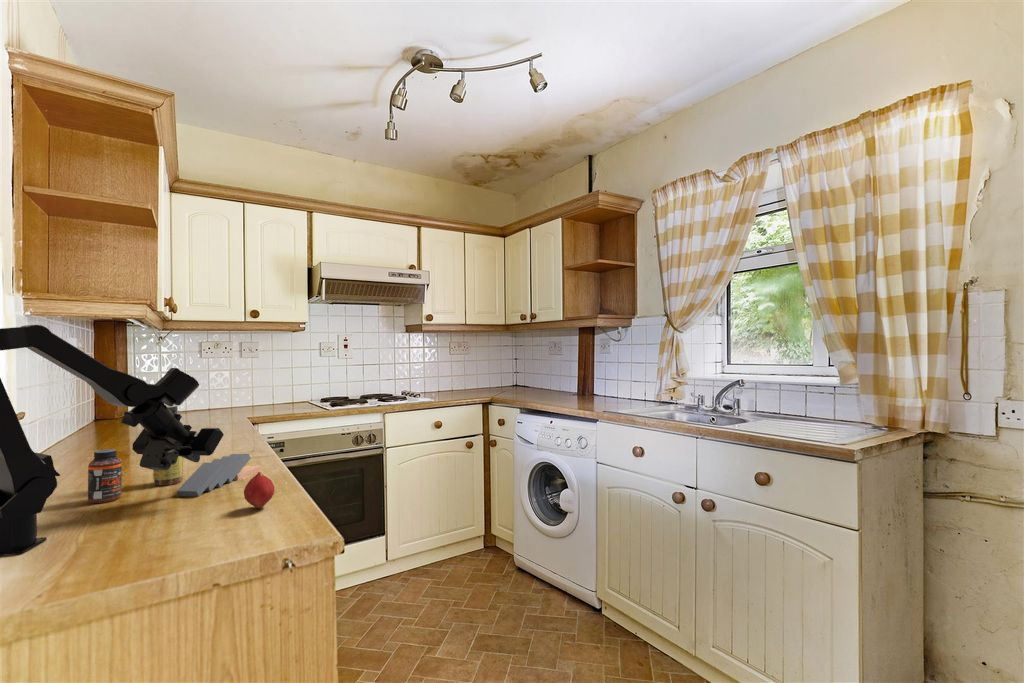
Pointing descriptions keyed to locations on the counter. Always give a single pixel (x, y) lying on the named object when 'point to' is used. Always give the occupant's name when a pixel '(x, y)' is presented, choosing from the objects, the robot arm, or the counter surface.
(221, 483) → the domino
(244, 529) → the counter surface
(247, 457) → the domino
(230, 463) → the domino
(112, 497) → the supplement bottle
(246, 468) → the domino
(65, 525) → the counter surface
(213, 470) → the domino
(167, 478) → the sauce bottle
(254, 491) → the onion
